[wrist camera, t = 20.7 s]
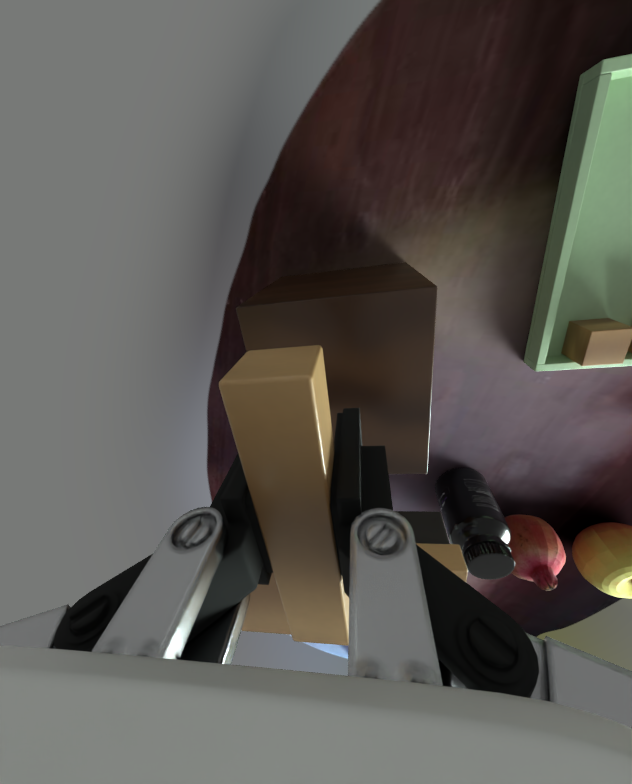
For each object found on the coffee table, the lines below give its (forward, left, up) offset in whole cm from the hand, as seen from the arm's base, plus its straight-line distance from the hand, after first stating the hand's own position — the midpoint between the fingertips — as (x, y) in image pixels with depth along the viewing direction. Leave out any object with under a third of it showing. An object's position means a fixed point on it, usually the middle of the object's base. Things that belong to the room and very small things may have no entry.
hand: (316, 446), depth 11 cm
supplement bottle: (+27, +14, -26) cm, 40 cm away
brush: (+3, 0, -3) cm, 4 cm away
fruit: (+34, +22, -26) cm, 48 cm away
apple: (+37, +34, -26) cm, 57 cm away
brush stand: (+5, 0, -26) cm, 26 cm away
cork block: (+6, +24, -25) cm, 35 cm away
